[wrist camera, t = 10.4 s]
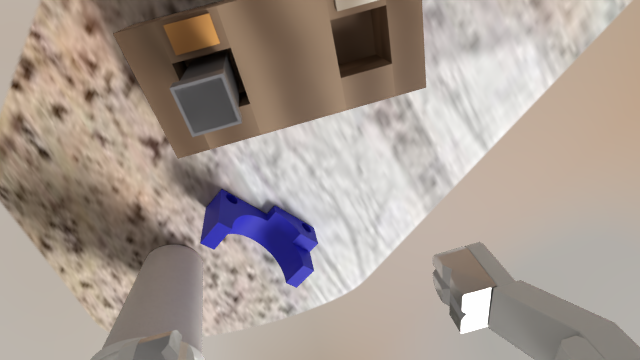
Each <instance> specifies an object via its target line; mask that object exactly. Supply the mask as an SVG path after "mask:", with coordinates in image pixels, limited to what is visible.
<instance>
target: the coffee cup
mask: <svg viewBox="0 0 640 360" xmlns="http://www.w3.org/2000/svg"><path fill="white" fill-rule="evenodd" d="M202 313H203V261H202V258H201V257H200V255H199V254H198V253H197V252H196V251H194V250H193V249H191V248H189V247H186V246H182V245H165V246H161V247H158V248H156V249H154V250H153V251H152V252H150V253H149V255H148V256H147V257H146V259H145V261H144V264H143V266H142V268H141V270H140V272H139V274H138V276H137V278H136V280H135V282H134V284H133V286H132V288H131V290H130V293H129V295H128V297H127V299H126V301H125V303H124V305H123V307H122V309H121V311H120V313H119V315H118V317H117V319H116V321H115V323H114V325H113V328H112V330H111V332H110V334H109V336H108V338H107V340H106V342H105V344H104V346H103V348H102V350H100V351H99V352H98V353H96V354H95V355H94V356H93V357H92V359H91V360H117V357H118V354H119V351H120V349H121V347H122V346H123V345H124V343H127V342H131V341H135V340H138V339H142V338H146V337H150V336H154V335H157V334H161V333H165V332H169V331H173V330H178V331H179V332H180V334H181V335H182V339H181V341H182V342H185V343H188V344H189V345H190V347H191V348H192V351H193V354H194V360H205V358H204V356H203V355H202Z"/></svg>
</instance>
